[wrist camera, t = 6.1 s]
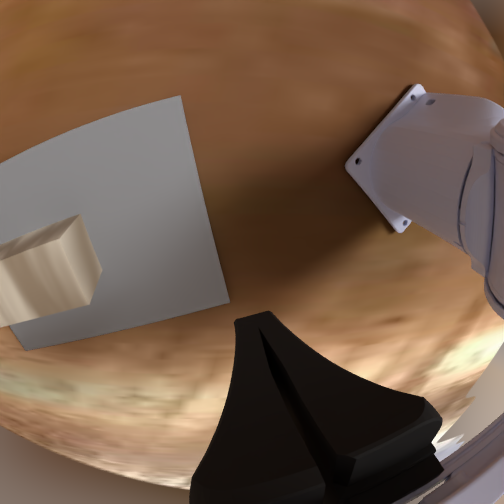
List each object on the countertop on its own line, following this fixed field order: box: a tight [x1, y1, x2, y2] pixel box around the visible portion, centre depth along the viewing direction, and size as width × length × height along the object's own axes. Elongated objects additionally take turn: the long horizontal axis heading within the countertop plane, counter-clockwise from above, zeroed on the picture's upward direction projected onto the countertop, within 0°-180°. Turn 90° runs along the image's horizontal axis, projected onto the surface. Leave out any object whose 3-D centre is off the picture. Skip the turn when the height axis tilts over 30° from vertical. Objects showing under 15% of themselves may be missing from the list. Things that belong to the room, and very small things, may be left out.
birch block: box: [0, 214, 102, 327], centre depth 15 cm, size 4×4×9 cm
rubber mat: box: [0, 96, 230, 351], centre depth 17 cm, size 18×14×1 cm
